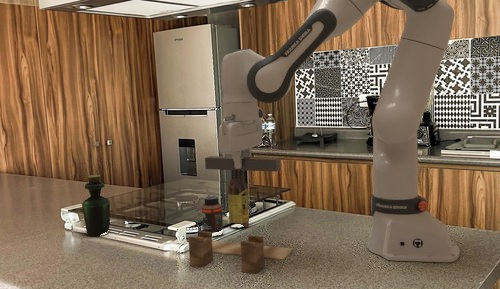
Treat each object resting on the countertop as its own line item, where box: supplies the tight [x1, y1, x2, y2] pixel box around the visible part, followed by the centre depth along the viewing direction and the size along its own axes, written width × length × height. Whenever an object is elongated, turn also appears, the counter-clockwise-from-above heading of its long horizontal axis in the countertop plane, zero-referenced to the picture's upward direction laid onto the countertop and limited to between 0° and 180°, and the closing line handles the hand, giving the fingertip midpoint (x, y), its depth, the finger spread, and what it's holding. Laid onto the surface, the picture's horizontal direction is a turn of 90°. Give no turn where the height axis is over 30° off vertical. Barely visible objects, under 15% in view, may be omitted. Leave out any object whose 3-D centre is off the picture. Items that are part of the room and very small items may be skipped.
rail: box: [204, 155, 281, 173], centre depth 132 cm, size 20×3×3 cm, turn 67°
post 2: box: [240, 235, 265, 274], centre depth 121 cm, size 4×5×7 cm, turn 157°
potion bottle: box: [81, 174, 111, 238], centre depth 155 cm, size 8×8×18 cm
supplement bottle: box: [201, 195, 224, 232], centre depth 150 cm, size 6×6×11 cm
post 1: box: [188, 230, 214, 268], centre depth 127 cm, size 4×5×7 cm, turn 157°
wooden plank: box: [212, 240, 294, 261], centre depth 135 cm, size 24×8×1 cm, turn 67°
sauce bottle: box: [227, 170, 250, 228], centre depth 157 cm, size 7×6×20 cm
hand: (242, 166), depth 132 cm, fingers closed on rail, 3 cm apart
